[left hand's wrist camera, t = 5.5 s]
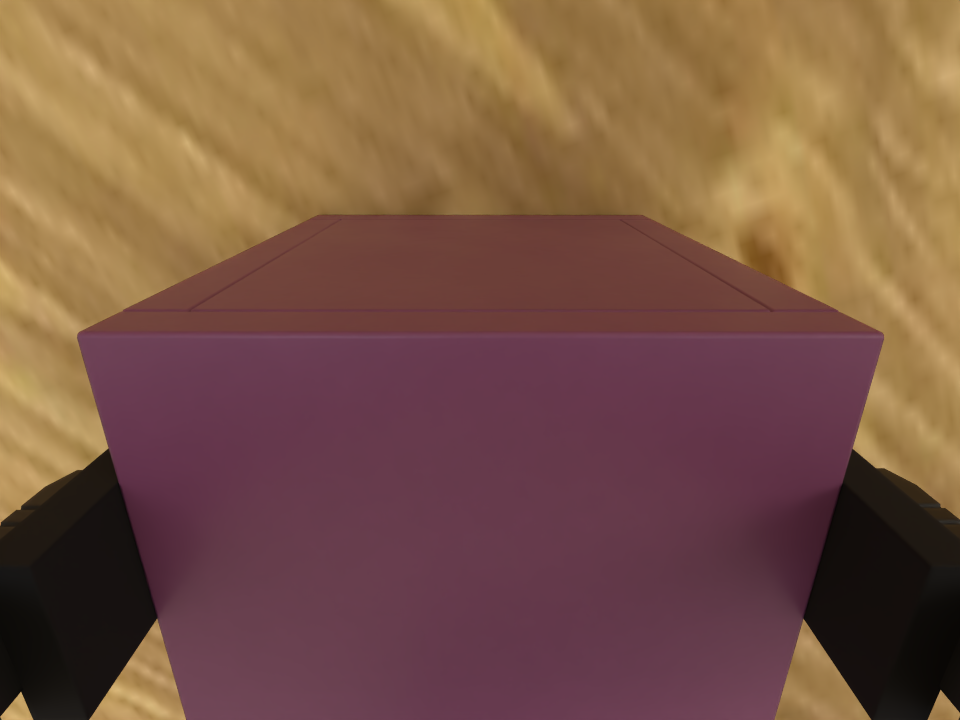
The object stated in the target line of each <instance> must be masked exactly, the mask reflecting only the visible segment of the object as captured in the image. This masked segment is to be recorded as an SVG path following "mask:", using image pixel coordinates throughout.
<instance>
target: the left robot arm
mask: <svg viewBox="0 0 960 720" xmlns="http://www.w3.org/2000/svg"><path fill="white" fill-rule="evenodd" d="M156 619H157V615H156V612H155V608H154V605H153V601H152V598H151V594H150V591H149V587H148V584H147V580H146V577H145V573H144V570H143V566H142V563H141V559H140V556H139V552H138V549H137V545H136V542H135V538H134V535H133V531H132V528H131V524H130V521H129V517H128V514H127V510H126V507H125V503H124V500H123V496H122V493H121V489H120V486H119V482H118V479H117V475H116V472H115V468H114V465H113V461H112V458H111V454H110V451H109V449H107V450H106V451H105V452H104V453H103V454H101V455H100V456H99V457H98V458H97V459H95V460H94V461H93V462H92V463H91V464H89V465H88V466H87V467H86V468H85V469H84V470H77V471H75V472H73V473H71V474H69V475H67V476H65V477H63V478H61V479H59V480H57V481H56V482H54V483H52V484H50V485H48V486H46V487H44V488H43V489H42V490H41V491H39V492H38V493H37V494H36V495H35V496H33V497H32V498H31V499H30V500H28V501H27V502H26V503H25V504H23V505H22V506H21V510H16V511H15V512H13V513H12V514H11V515H10V516H8V517H7V518H6V519H5V520H3V521H2V522H1V526H0V716H1V715H2V714H3V713H4V711H5V710H6V709H7V708H8V707H9V705H10V704H11V703H12V702H13V701H14V699H15V698H16V697H17V696H18V695H19V693H20V692H22V694H23V697H24V699H25V701H26V704H27V706H28V708H29V711H30V713H31V715H32V718H33V720H89V719H90V718H91V716H92V715H93V713H94V712H95V710H96V709H97V707H98V706H99V704H100V703H101V701H102V700H103V698H104V697H105V695H106V694H107V692H108V691H109V689H110V688H111V686H112V685H113V683H114V682H115V680H116V679H117V677H118V676H119V674H120V673H121V671H122V670H123V668H124V667H125V666H126V664H127V663H128V661H129V660H130V658H131V657H132V655H133V654H134V652H135V651H136V649H137V648H138V646H139V645H140V643H141V642H142V640H143V639H144V637H145V636H146V634H147V633H148V631H149V630H150V628H151V627H152V625H153V624H154V622H155V621H156ZM804 620H805V621H806V623H807V624H808V626H809V627H810V629H811V630H812V632H813V633H814V635H815V636H816V638H817V639H818V641H819V642H820V644H821V645H822V647H823V648H824V650H825V651H826V653H827V654H828V656H829V657H830V659H831V660H832V662H833V663H834V665H835V666H836V668H837V669H838V671H839V672H840V674H841V675H842V677H843V678H844V679H845V681H846V682H847V684H848V685H849V687H850V688H851V690H852V691H853V693H854V694H855V696H856V697H857V699H858V700H859V702H860V703H861V705H862V706H863V708H864V709H865V711H866V712H867V714H868V715H869V717H870V718H871V720H928V717H929V715H930V713H931V710H932V708H933V706H934V703H935V701H936V699H937V697H938V694H939V692H940V690H941V691H942V692H943V693H944V694H945V695H946V697H947V698H948V699H949V700H950V701H951V703H952V704H953V705H954V706H955V707H956V709H957V710H958V711H959V712H960V519H958V518H957V517H956V516H954V515H953V514H952V513H951V512H949V511H948V510H947V509H946V508H941V507H940V504H939V503H938V502H937V501H936V500H934V499H933V498H932V497H931V496H929V495H928V494H927V493H926V492H924V491H923V490H922V489H921V488H919V487H918V486H917V485H915V484H913V483H912V482H910V481H908V480H906V479H904V478H902V477H900V476H898V475H896V474H894V473H892V472H890V471H888V470H886V469H884V468H875V467H874V466H872V465H871V464H870V463H869V462H868V461H866V460H865V459H864V458H863V457H862V456H860V455H859V454H858V453H857V452H856V451H854V450H853V449H852V452H851V455H850V458H849V462H848V465H847V469H846V472H845V476H844V479H843V483H842V486H841V490H840V493H839V497H838V500H837V504H836V507H835V511H834V514H833V518H832V521H831V524H830V528H829V531H828V535H827V538H826V542H825V545H824V549H823V552H822V556H821V559H820V563H819V566H818V570H817V573H816V577H815V580H814V583H813V587H812V590H811V594H810V597H809V601H808V604H807V608H806V611H805V615H804ZM0 720H1V718H0ZM959 720H960V718H959Z"/></svg>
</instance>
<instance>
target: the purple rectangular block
mask: <svg viewBox="0 0 960 720" xmlns="http://www.w3.org/2000/svg"><path fill="white" fill-rule="evenodd" d="M77 339H78V342H79V346H80V349H81V353H82V356H83V360H84V363H85V367H86V370H87V374H88V377H89V381H90V384H91V388H92V391H93V395H94V398H95V402H96V405H97V409H98V412H99V416H100V419H101V423H102V426H103V430H104V433H105V437H106V440H107V444H108V447H109V451H110V454H111V458H112V461H113V465H114V468H115V472H116V475H117V479H118V482H119V486H120V489H121V493H122V496H123V500H124V503H125V507H126V510H127V514H128V517H129V521H130V524H131V528H132V531H133V535H134V538H135V542H136V545H137V549H138V552H139V556H140V559H141V563H142V566H143V570H144V573H145V577H146V580H147V584H148V587H149V591H150V594H151V598H152V601H153V605H154V608H155V612H156V615H157V619H158V622H159V626H160V629H161V633H162V636H163V640H164V643H165V647H166V650H167V654H168V657H169V661H170V664H171V668H172V671H173V675H174V678H175V682H176V685H177V689H178V692H179V696H180V699H181V703H182V706H183V710H184V713H185V717H186V720H774V719H775V715H776V712H777V708H778V705H779V702H780V698H781V695H782V691H783V688H784V684H785V681H786V677H787V674H788V670H789V667H790V663H791V660H792V656H793V653H794V649H795V646H796V643H797V639H798V636H799V632H800V629H801V625H802V622H803V618H804V615H805V611H806V608H807V604H808V601H809V597H810V594H811V590H812V587H813V583H814V580H815V577H816V573H817V570H818V566H819V563H820V559H821V556H822V552H823V549H824V545H825V542H826V538H827V535H828V531H829V528H830V524H831V521H832V518H833V514H834V511H835V507H836V504H837V500H838V497H839V493H840V490H841V486H842V483H843V479H844V476H845V472H846V469H847V465H848V462H849V458H850V455H851V452H852V448H853V445H854V441H855V438H856V434H857V431H858V427H859V424H860V420H861V417H862V413H863V410H864V406H865V403H866V399H867V396H868V393H869V389H870V386H871V382H872V379H873V375H874V372H875V368H876V365H877V361H878V358H879V354H880V351H881V347H882V344H883V340H884V335H883V333H882V332H880V331H878V330H876V329H873V328H871V327H869V326H867V325H865V324H863V323H861V322H859V321H857V320H855V319H853V318H851V317H849V316H847V315H845V314H843V313H840V312H839V311H838V310H836V309H834V308H832V307H830V306H828V305H826V304H824V303H822V302H820V301H818V300H815V299H813V298H811V297H809V296H807V295H805V294H803V293H801V292H799V291H797V290H795V289H793V288H791V287H789V286H787V285H785V284H783V283H781V282H779V281H776V280H774V279H772V278H770V277H768V276H766V275H764V274H762V273H760V272H758V271H756V270H754V269H752V268H750V267H748V266H746V265H744V264H742V263H739V262H737V261H735V260H733V259H731V258H729V257H727V256H725V255H723V254H721V253H719V252H717V251H715V250H713V249H711V248H709V247H707V246H705V245H703V244H700V243H698V242H696V241H694V240H692V239H690V238H688V237H686V236H684V235H682V234H680V233H678V232H676V231H674V230H672V229H670V228H668V227H666V226H664V225H661V224H659V223H657V222H655V221H653V220H651V219H649V218H647V217H645V216H643V215H317V216H315V217H313V218H311V219H309V220H307V221H305V222H303V223H301V224H299V225H297V226H295V227H293V228H291V229H289V230H287V231H285V232H283V233H281V234H278V235H276V236H274V237H272V238H270V239H268V240H266V241H264V242H262V243H260V244H258V245H256V246H254V247H252V248H250V249H248V250H246V251H244V252H241V253H239V254H237V255H235V256H233V257H231V258H229V259H227V260H225V261H223V262H221V263H219V264H217V265H215V266H213V267H211V268H209V269H207V270H204V271H202V272H200V273H198V274H196V275H194V276H192V277H190V278H188V279H186V280H184V281H182V282H180V283H178V284H176V285H174V286H172V287H170V288H167V289H165V290H163V291H161V292H159V293H157V294H155V295H153V296H151V297H149V298H147V299H145V300H143V301H141V302H139V303H137V304H135V305H133V306H130V307H128V308H126V309H124V310H123V312H120V313H117V314H115V315H113V316H111V317H109V318H107V319H105V320H103V321H101V322H99V323H97V324H95V325H93V326H91V327H89V328H87V329H85V330H83V331H81V332H79V333H78V336H77Z"/></svg>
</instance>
